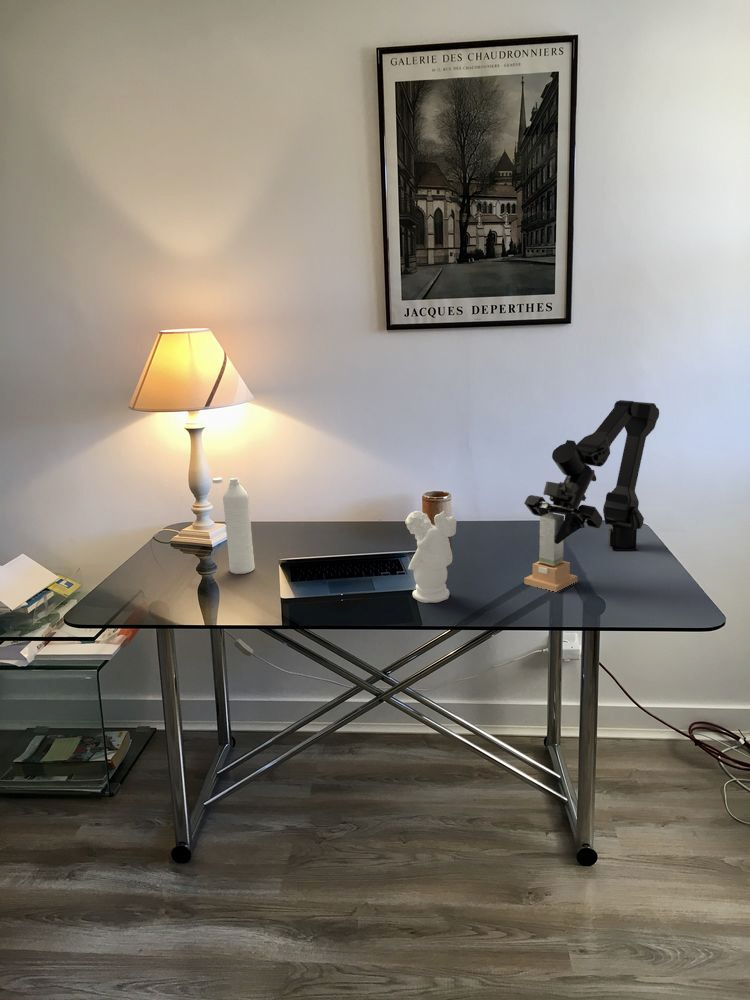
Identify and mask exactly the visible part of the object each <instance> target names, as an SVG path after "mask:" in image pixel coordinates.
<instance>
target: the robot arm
mask: <svg viewBox="0 0 750 1000" xmlns="http://www.w3.org/2000/svg"><path fill="white" fill-rule="evenodd" d="M659 417H660V409H659V407H657V405H656V403H654V402H645V401H644V402H642V401H634V400H625V399H623V400H622V399H619V400H616V401H615V403H614V405H613V408H612V409H611V411H610V412H609V413H608V414H607V416H606V417H605V419H604V420H603V421H602V422H601V424H600V425H599V426H598V427H597V429H596V430H595V431H594V432H593V433H590V434H588V435H586V436H584V437H583V438H582V439H580V441H579V442H578V443H576V441H575V440H571V439H566V441H565V442H564V443H562V444H560V445H558V446H557V447H556V448H555V449H553V451H552V455H551V458H552V460H553V462H554V463H555V464H556V466H557V467H558V469H559V470H560V472H561V473H562V475H564V476H565V478H564V480H563V482H562V481H560V482H553V481H545V485H544V489H543V496H549V500H550V502H553V503H550V502H547V501H546V500H545V498H544V497H543V496H538V495H533V494H531V495H528V496H527V497H526V498H525V500H524V505H525V506H526V508H527V509H528V510H529V511H530V513H531V514H532V515H534V516H536V517H540V516H542V515H545V514H548V513H554V514H559V515H564V523H563V525H562V527H561V529H560V531H559V533H558V535H557V537H556V540H555V543H556V544H559V543H560V542H561V541H563V540H565V539H567V538H568V537H569V536H571V535H572V534H573V533H575V532H577V531H579V530H580V529H584V528H585V527H586V526H585V523H586V525H587V526H588V527H590V528H594V529H600V528H601V525H602V524H603V519H604V523H605V525H609V526H610V528H609V529H608V531H607V532H608V533H607V536H608V537H607V539H608V540H607V544H608V546H609V547H610V548H611V549H612V551H639V550H638V549H639V548H638V546H637V536H638V535H637V534H638V530H640V529H642V527H643V525H644V520H645V518H644V516H643V514H642V513H641V511H640V510H639V506H640V505H639V503H640V501H639V498H638V495H637V494H636V486H637V483H638V477H639V473H640V467H641V463H642V457H643V454H644V447H645V444H646V439H647V437H648V436H649V435H650V434H651V433H652V432H653V430H654V429H655V428H656V424H657V421H658V419H659ZM623 429H625V431H626V436H625V437H626V438H625V443H624V447H623V451H622V456H621V462H620V466H619V470H618V474H617V480H616V484H615V485H616V486H615V488H614V489H612V491H611V492H610V491H608V492H607V493H606V495H605V500H604V504H603V508H602V513H603V517H602V515H601V513H600V512H599V511H598V509H597V507H595V506H591V505H588V504H587V505H585V504H581V503H582V501H583V502H586V499H587V496H586V495H585V494H586V492H587V490H588V488H589V486H590V484H591V482H596V481H597V476H596V474H595V469H592V468H591V467H590V466H593V467H599V468H600V467H602V466H604V465H605V463H606V462H607V461H608V458H609V456H610V455H611V445H612V443H613V442H614V441H615V439H616V438H617V437H618V435H619V434H620V433H621V432H622V431H623ZM538 535H539V536H538V537H539V538H538V539H539V540H540V533H539V534H538Z"/></svg>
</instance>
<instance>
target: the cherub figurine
mask: <svg viewBox="0 0 750 1000" xmlns="http://www.w3.org/2000/svg"><path fill="white" fill-rule="evenodd" d="M433 521H434V524H433V523H432V521H431V519H430V517H429V516H428V514H427V513H425V512H423V511H422V510H420V511H419V510H414V511H412V512H410V513H409V514H408V515H407V518H406V519H405V525H406V528H407V530H409V533H410V534H411V535H414V538H415V540H416V546H417V548H416V550H415V553H414V555H413V557H412V558H411V560H410V562H409V564H408V567H407V570H409V571H413V579H414V581H415V583H416V584H415V589H416V590H415V589H414V590H413V591H412V597H413V598H414V599H415V600H416V601H418V602H420V603H426V604H428V603H436V604H437V603H440V602H442V601H443V602H444V601H445V600H448V599H449V598H450V597H449V596H450V590H449V589H448V588H447V584H446V582H447V579H448V568H447V567H448V566H450V565H451V564H452V562H453V552H452V549H451V546H450V545H451V544H450V539H449V537H450V538H451V537H453V536H454V535H456V533H457V532H456V531H457V518H456V517H455V516H452V515H451V516H450V517H449V516H447V514H446V511H445V510H443V511H441V512H440V513H439V514H437V513H436V515H435V516H434V517H433Z"/></svg>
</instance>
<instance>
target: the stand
mask: <svg viewBox="0 0 750 1000" xmlns="http://www.w3.org/2000/svg"><path fill="white" fill-rule="evenodd" d="M570 569H571V562H569V561H565V560H563V562H561V563H558V564H556V565H554V566H553V565H549V564H545V563H541V562H539V560H538V561H536V562H533V563H532V574H529V575H527V576H526V577H524V582H523V583H524V584H525V585H528V586H531V587H533V588H537V587H538V588H539V589H541V588H542V590H545V589H547V590H546V591H548V590H550V591H549V592H552V591H554V592H553V593H555V592H557V591H559V590H561V589H563V588H565V587H567V586H569V585H571V584H572V585H574V584H576V583H578V578H579V577H578V575H576V574H575V575H574V574H572V573H571V572H570V571H571V570H570ZM575 582H576V583H575ZM573 583H574V584H573ZM572 585H571V586H572ZM569 587H570V586H569ZM567 588H568V587H567ZM565 589H566V588H565ZM563 590H564V589H563ZM561 591H562V590H561ZM559 592H560V591H559ZM557 593H558V592H557Z"/></svg>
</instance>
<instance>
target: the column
mask: <svg viewBox="0 0 750 1000" xmlns="http://www.w3.org/2000/svg"><path fill="white" fill-rule="evenodd" d="M564 520H565V515H563V514H558V513H548V514H545V515H542V516H539V534H540V539H539V552H538V553H539V557H538V561H539V562H541V563H545V564H549V565H553V566H554V565H556V564H558V563H561V562H563V561H564V540H565V539H564V540H563V541H561V542H560V543H559V544H556V543H555V540H556V537H557V535H558V533H559V531H560V529H561V527H562V525H563V523H564Z"/></svg>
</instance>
